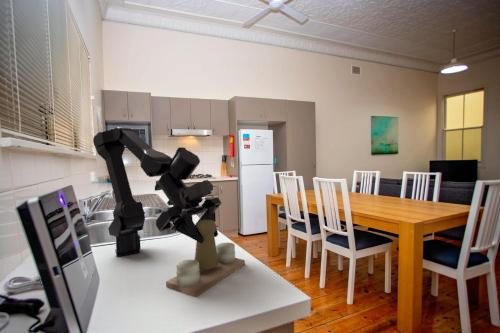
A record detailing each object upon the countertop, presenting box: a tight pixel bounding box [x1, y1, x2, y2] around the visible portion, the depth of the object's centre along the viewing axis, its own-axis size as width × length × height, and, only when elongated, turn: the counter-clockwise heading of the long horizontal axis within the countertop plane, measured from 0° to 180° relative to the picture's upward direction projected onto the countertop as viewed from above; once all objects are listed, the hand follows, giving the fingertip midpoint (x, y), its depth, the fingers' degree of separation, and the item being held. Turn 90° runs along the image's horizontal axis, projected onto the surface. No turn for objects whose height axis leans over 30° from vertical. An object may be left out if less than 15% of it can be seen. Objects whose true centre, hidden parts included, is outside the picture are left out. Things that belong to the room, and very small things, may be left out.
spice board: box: [165, 241, 246, 298], centre depth 65 cm, size 9×19×5 cm, turn 148°
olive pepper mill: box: [194, 220, 218, 269], centre depth 65 cm, size 6×6×11 cm
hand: (210, 238), depth 65 cm, fingers closed on olive pepper mill, 5 cm apart
